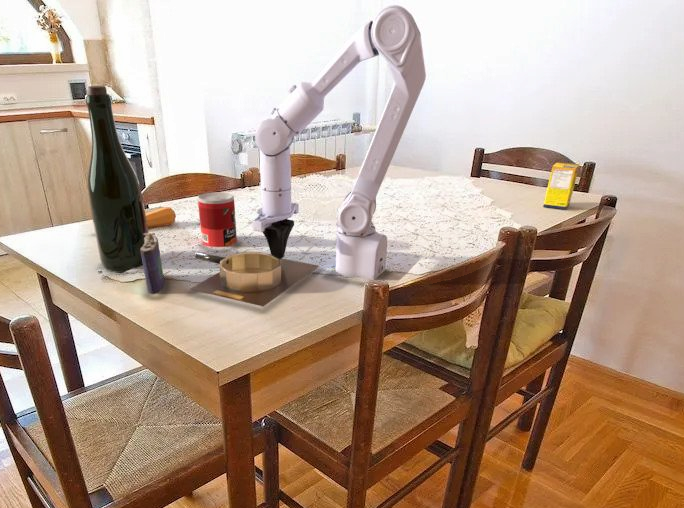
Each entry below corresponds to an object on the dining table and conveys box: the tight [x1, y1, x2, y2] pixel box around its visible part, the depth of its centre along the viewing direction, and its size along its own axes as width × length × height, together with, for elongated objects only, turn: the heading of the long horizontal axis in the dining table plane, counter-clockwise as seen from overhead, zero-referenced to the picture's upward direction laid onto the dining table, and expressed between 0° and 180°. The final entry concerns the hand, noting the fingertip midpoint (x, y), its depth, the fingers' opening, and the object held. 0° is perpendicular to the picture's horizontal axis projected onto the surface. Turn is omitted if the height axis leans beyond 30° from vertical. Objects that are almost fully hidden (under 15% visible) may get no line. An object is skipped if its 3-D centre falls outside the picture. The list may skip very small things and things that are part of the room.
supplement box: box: [543, 162, 580, 211], centre depth 144 cm, size 6×6×11 cm
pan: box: [194, 251, 281, 292], centre depth 101 cm, size 19×11×4 cm, turn 61°
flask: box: [140, 232, 165, 299], centre depth 97 cm, size 9×3×11 cm, turn 8°
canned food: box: [197, 191, 238, 248], centre depth 118 cm, size 8×8×11 cm
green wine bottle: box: [85, 85, 150, 273], centre depth 102 cm, size 10×10×33 cm
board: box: [189, 258, 320, 307], centre depth 102 cm, size 16×22×1 cm
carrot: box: [145, 206, 177, 229], centre depth 131 cm, size 20×4×4 cm, turn 119°
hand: (277, 257), depth 107 cm, fingers closed
